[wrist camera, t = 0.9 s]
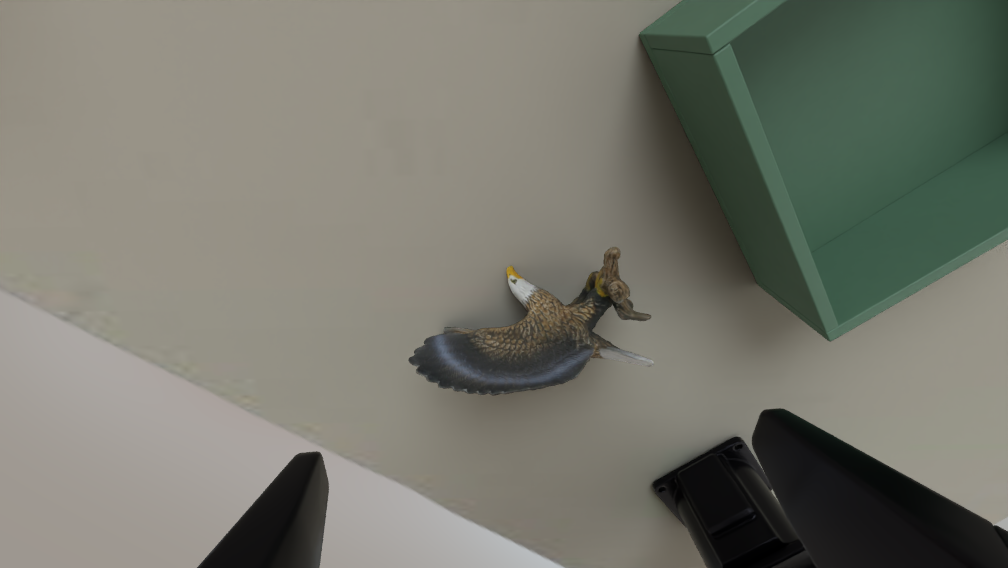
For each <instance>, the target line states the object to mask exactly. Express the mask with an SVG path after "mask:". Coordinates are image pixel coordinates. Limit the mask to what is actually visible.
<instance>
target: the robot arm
mask: <svg viewBox="0 0 1008 568" xmlns="http://www.w3.org/2000/svg"><path fill="white" fill-rule="evenodd" d="M752 445H753V449H754V451H755V453H756V455H757V457H758V460H759V462H760V464H761V466H762V468H763V470H764V472H765V473H764V472H763V470H762V468H761V467H760V465H759V464H758V462H757V461H756V459H755V458H754V456H753V454H752V453H751V451H750V450H749V448H748V447H747V445H746V444H745V442H744V441H743V440H742V438H740V437H734V438H732V439H730V440H728V441H726V442H725V443H723V444H721V445H719V446H718V447H716V448H714V449H712V450H710V451H709V452H707V453H705V454H703V455H701V456H700V457H698V458H696V459H694V460H692V461H691V462H689V463H687V464H685V465H684V466H682V467H680V468H678V469H676V470H675V471H673V472H671V473H669V474H667V475H666V476H664V477H662V478H660V479H658V480H657V481H655V482H654V483H653V486H652V487H653V489H654V491H655V493H656V494H657V495H658V496H659V498H660V499H661V500H662V501H663V502H664V503H665V504H666V505H667V507H668V508H669V509H670V510H671V511H672V512H673V513H674V514H675V516H676V517H677V518H678V519H679V520H680V521H681V522H682V523H683V525H684V526H685V527H686V528H687V529H688V531H689V533H690V535H691V537H692V539H693V541H694V543H695V545H696V547H697V549H698V551H699V553H700V555H701V557H702V559H703V561H704V563H705V565H706V567H707V568H1008V531H1006V530H1004V529H1002V528H1000V527H999V526H995V525H994V526H993V525H992V523H991V522H989V521H987V520H986V519H984V518H982V517H980V516H978V515H977V514H975V513H973V512H971V511H969V510H967V509H966V508H964V507H962V506H960V505H958V504H957V503H955V502H953V501H951V500H949V499H947V498H946V497H944V496H942V495H940V494H938V493H936V492H935V491H933V490H931V489H929V488H927V487H926V486H924V485H922V484H920V483H918V482H916V481H915V480H913V479H911V478H909V477H907V476H906V475H904V474H902V473H900V472H898V471H896V470H895V469H893V468H891V467H889V466H887V465H885V464H884V463H882V462H880V461H878V460H876V459H875V458H873V457H871V456H869V455H867V454H865V453H864V452H862V451H860V450H858V449H856V448H854V447H853V446H851V445H849V444H847V443H845V442H844V441H842V440H840V439H838V438H836V437H834V436H833V435H831V434H829V433H827V432H825V431H824V430H822V429H820V428H818V427H816V426H814V425H813V424H811V423H809V422H807V421H805V420H803V419H802V418H800V417H798V416H796V415H794V414H793V413H791V412H789V411H787V410H785V409H780V408H779V409H768V410H764V411H763V412H761V414H760V416H759V419H758V422H757V425H756V427H755V430H754V433H753V436H752ZM765 474H766V475H765ZM772 489H773V491H774V493H775V495H776V497H777V499H778V501H779V502H778V501H777V499H776V498H775V496H774V495H773V494H772V492H771V490H772ZM328 493H329V483H328V478H327V474H326V469H325V465H324V461H323V457H322V455H321V453H320V452H306V453H299V454H297V455H296V456H295V457H294V458H293V459H292V460H291V461H290V462H289V463H288V465H287V466H286V467H285V468H284V469H283V470H282V471H281V473H280V474H279V475H278V476H277V477H276V478H275V479H274V481H273V482H272V483H271V484H270V485H269V486H268V487H267V489H266V490H265V491H264V492H263V493H262V494H261V496H260V497H259V498H258V499H257V500H256V501H255V502H254V503H253V505H252V506H251V507H250V508H249V509H248V510H247V511H246V513H245V514H244V515H243V516H242V517H241V518H240V519H239V521H238V522H237V523H236V524H235V525H234V526H233V527H232V529H231V530H230V531H229V532H228V533H227V534H226V535H225V536H224V538H223V539H222V540H221V541H220V542H219V543H218V545H217V546H216V547H215V548H214V549H213V550H212V551H211V552H210V554H209V555H208V556H207V557H206V558H205V559H204V560H203V562H202V563H201V564H200V565H199V566H198V567H197V568H319V566H320V559H321V551H322V543H323V533H324V526H325V518H326V510H327V501H328Z"/></svg>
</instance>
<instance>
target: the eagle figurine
mask: <svg viewBox="0 0 1008 568" xmlns="http://www.w3.org/2000/svg"><path fill="white" fill-rule="evenodd" d="M619 257H620V249H619V248H618V247H612V248H610V249H608V250H607V252H605V254H604V266H603V267H602V269H601V270H600V272H592V273H591V274H590V275H589V277H588V280H587V282H586V286H585V288H584V289H583V290H582V292H581V294H580V295H579V297H577V298H576V299H574V301H573V302H572V303H571V304H569V305H566V306H565V305H563V304H562V303H561V302H560V301H559V300H558V299H557V298H556V297H554V296H553V295H552V294H550V293H549V292H547V291H545V290H543V289H540V288H538V287H536V286H534V285H532V284H530V283H529V282H527V281H526V280H525V279H523V278H522V277H521V276H519V275H518V274H517V273H516V272H515V270H514V268H513V266H509V267H508V268H507V277H508V284H509V286H510V289H511V291H512V293H513V294H514V295H515V297H516V298H517V299H518V300H519V301H520V302H521V303H522V305H523V306H524V307H525V309H526V310H527V311H528V314H527V316H526V317H525V318H524V319H522V320H521V321H519V322H518V323H516V324H514V325H511V326H508V327H501V328H482V329H479V330H470V329H462V328H457V327H445V328H444V333H445V334H440V335H436V336H432V337H429V338H427V339H426V340H425V341H424V344H425V345H424V346H422V347H419V348H417V349H416V350H415V351H414V354H415V355H414V356H413V357H410V358H409V362H410V363H411V364H412V365H414V366H418V369H417V370H416V373H417V374H419V375H421V376H425V377H426V379H427V381H428V382H436V383H438V387H440V388H452V389H453V390H454V391H464V392H466V393H469V394H472V393H477V394H479V395H485V394H487V393H489V394H490V395H498V394H508V393H513V392H520V391H526V390H536V389H542V388H545V387H548V386H555V385H558V384H563V383H565V382H567V381H569V380H572V379H574V378H576V377H577V376H578V375H579V374H580V372H581V371H582V370H583V368H584V367H585V365H586V363H587V362H588V361H589V360H590V357H591V358H603V359H612V360H618V361H623V362H628V363H633V364H639V365H644V366H652V365H654V363H653V361H652V360H651V359H649V358H646V357H642V356H640V355H638V354H635V353H632V352H628V351H624V350H621V349H619V348H618V347H616V346H614V345H613V344H612V343H611V342H609V341H606V340H605V339H603V338H601V337H600V336H599V335H597V334H595V333H594V332H592V329H593V328H594V327H595V325H596V323H597V321H598V320H599V319H600V317H601V316H602V315H604V312H605V311H606V310H607V309H608V308H609V307H611V306H612V304H613V306H614V308H615V310H616V312H617V314H618V316H619V317H620V318H621V319H622V320H629V319H631V320H638V321H646V320H648V319H650V318H651V315H648V314H644V313H638V312H636V311H634V310H633V303H632V302H631V301H630V300H629V299H627V298H628V297H629V296H630V290H629V288H628V286H627V285H626V284H625V283H624V282H623V281H622V280H621V279H620V277H619V271H618V262H617V259H619Z"/></svg>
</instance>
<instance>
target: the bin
mask: <svg viewBox="0 0 1008 568" xmlns="http://www.w3.org/2000/svg"><path fill="white" fill-rule="evenodd" d="M639 36H640V38H641V40H642V43H643V45H644V47H645V49H646V51H647V53H648V55H649V57H650V59H651V61H652V63H653V66H654V68H655V70H656V72H657V74H658V76H659V78H660V80H661V82H662V84H663V87H664V89H665V91H666V93H667V95H668V97H669V99H670V101H671V103H672V105H673V107H674V110H675V112H676V114H677V116H678V118H679V120H680V122H681V124H682V126H683V128H684V131H685V133H686V135H687V137H688V139H689V141H690V143H691V145H692V147H693V149H694V151H695V154H696V156H697V158H698V160H699V162H700V164H701V166H702V168H703V170H704V172H705V175H706V177H707V179H708V181H709V183H710V185H711V187H712V189H713V191H714V193H715V195H716V198H717V200H718V202H719V204H720V206H721V208H722V210H723V212H724V214H725V216H726V219H727V221H728V223H729V225H730V227H731V229H732V231H733V233H734V235H735V237H736V239H737V242H738V244H739V246H740V248H741V250H742V252H743V254H744V256H745V258H746V260H747V262H748V265H749V267H750V269H751V271H752V273H753V275H754V277H755V279H756V281H757V283H758V285H759V286H760V287H761V288H762V289H764V290H765V291H766V292H767V293H769V294H770V295H771V296H772V297H774V298H775V299H776V300H777V301H779V302H780V303H781V304H783V305H784V306H785V307H786V308H788V309H789V310H790V311H791V312H793V313H794V314H795V315H796V316H798V317H799V318H800V319H801V320H803V321H804V322H805V323H807V324H808V325H809V326H810V327H812V328H813V329H814V330H815V331H817V332H818V333H819V334H820V335H822V336H823V337H824V338H825V339H827V340H828V341H832V340H834V339H836V338H838V337H839V336H841V335H843V334H845V333H846V332H848V331H850V330H852V329H853V328H855V327H857V326H858V325H860V324H862V323H864V322H865V321H867V320H869V319H871V318H872V317H874V316H876V315H878V314H879V313H881V312H883V311H885V310H886V309H888V308H890V307H891V306H893V305H895V304H897V303H898V302H900V301H902V300H904V299H905V298H907V297H909V296H911V295H912V294H914V293H916V292H917V291H919V290H921V289H923V288H924V287H926V286H928V285H930V284H931V283H933V282H935V281H937V280H938V279H940V278H942V277H944V276H945V275H947V274H949V273H950V272H952V271H954V270H956V269H957V268H959V267H961V266H963V265H964V264H966V263H968V262H970V261H971V260H973V259H975V258H977V257H978V256H980V255H982V254H983V253H985V252H987V251H989V250H990V249H992V248H994V247H996V246H997V245H999V244H1001V243H1003V242H1004V241H1006V240H1008V0H683V1H681V2H680V3H679V4H677V5H676V6H675V7H673V8H672V9H671V10H669V11H668V12H667V13H666V14H664V15H663V16H662V17H660V18H659V19H658V20H656V21H655V22H654V23H652V24H651V25H650V26H648V27H647V28H646V29H644V30H643V31H642V32H641V33H640V34H639Z"/></svg>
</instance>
